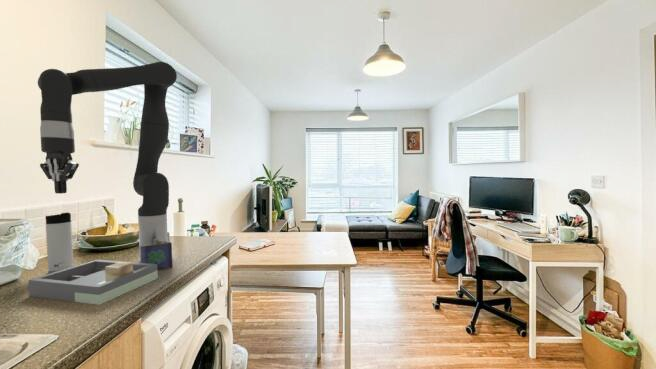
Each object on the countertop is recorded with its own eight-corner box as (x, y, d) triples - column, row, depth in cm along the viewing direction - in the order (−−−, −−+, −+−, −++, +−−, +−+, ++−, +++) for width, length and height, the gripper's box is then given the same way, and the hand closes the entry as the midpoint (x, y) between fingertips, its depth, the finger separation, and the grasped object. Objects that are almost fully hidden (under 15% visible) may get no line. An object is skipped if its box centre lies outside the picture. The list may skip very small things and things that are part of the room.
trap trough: (97, 272, 94) (96, 259, 94) (157, 278, 88) (157, 264, 88) (29, 296, 76) (28, 279, 76) (99, 304, 71) (98, 287, 71)
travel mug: (59, 275, 92) (55, 214, 91) (43, 273, 94) (39, 213, 93) (79, 268, 98) (76, 211, 98) (64, 267, 100) (61, 211, 99)
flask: (140, 273, 93) (139, 241, 93) (141, 270, 96) (140, 239, 95) (172, 268, 98) (171, 237, 98) (172, 265, 100) (171, 236, 100)
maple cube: (121, 276, 83) (120, 261, 83) (133, 278, 82) (132, 262, 82) (105, 282, 79) (105, 266, 79) (118, 284, 78) (118, 267, 78)
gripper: (87, 137, 89) (90, 192, 90) (55, 139, 92) (58, 192, 93) (60, 135, 82) (63, 194, 83) (26, 136, 85) (30, 194, 86)
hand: (60, 193), depth 88 cm, fingers closed
